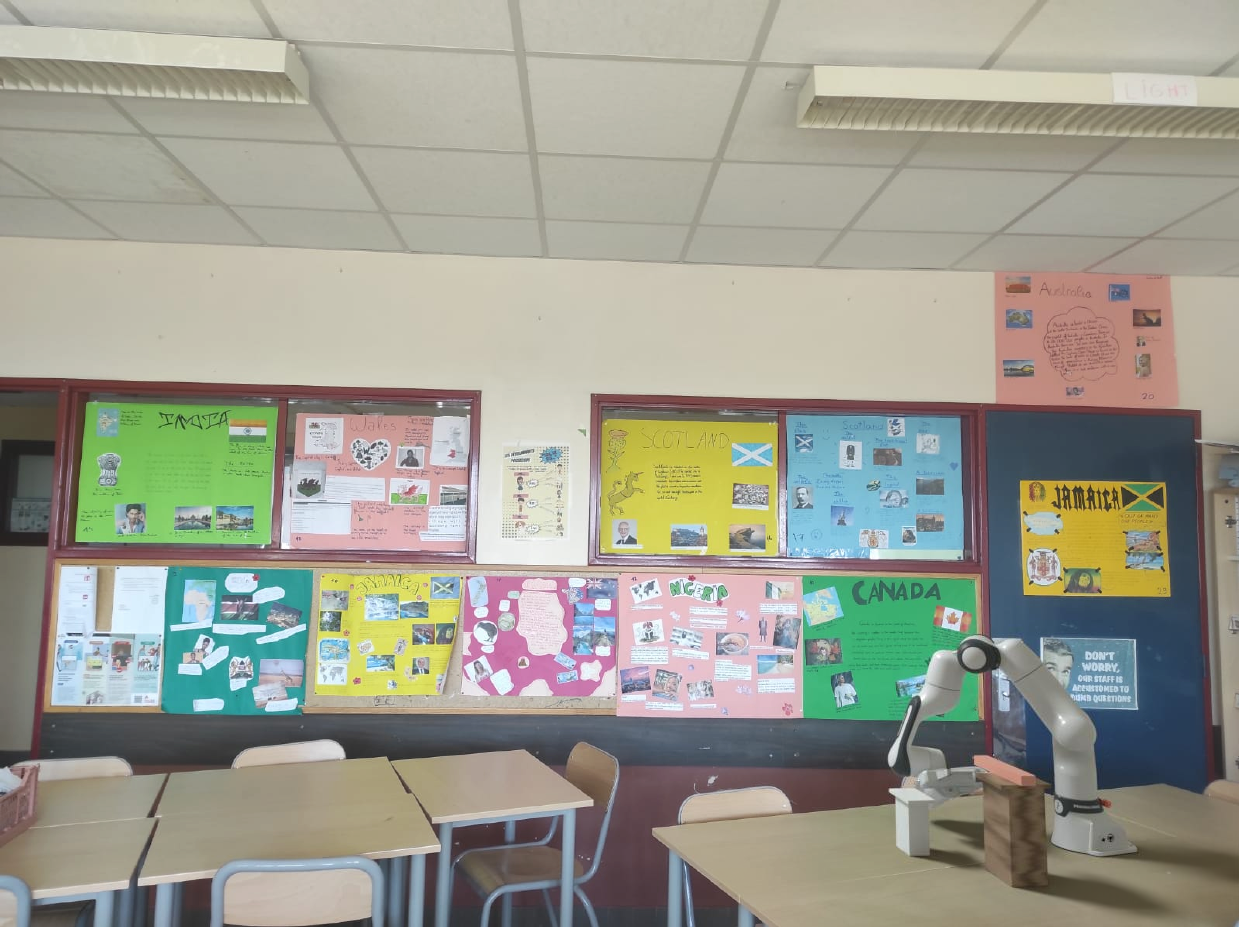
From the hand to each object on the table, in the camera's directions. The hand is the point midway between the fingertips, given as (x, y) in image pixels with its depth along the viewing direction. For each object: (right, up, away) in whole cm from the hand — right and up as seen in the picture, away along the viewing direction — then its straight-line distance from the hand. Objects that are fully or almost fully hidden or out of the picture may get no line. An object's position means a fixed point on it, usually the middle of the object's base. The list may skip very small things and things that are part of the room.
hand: (964, 771), depth 241 cm
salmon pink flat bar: (+3, +6, -19) cm, 20 cm away
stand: (-18, -20, -7) cm, 28 cm away
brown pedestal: (+3, -18, -26) cm, 32 cm away
